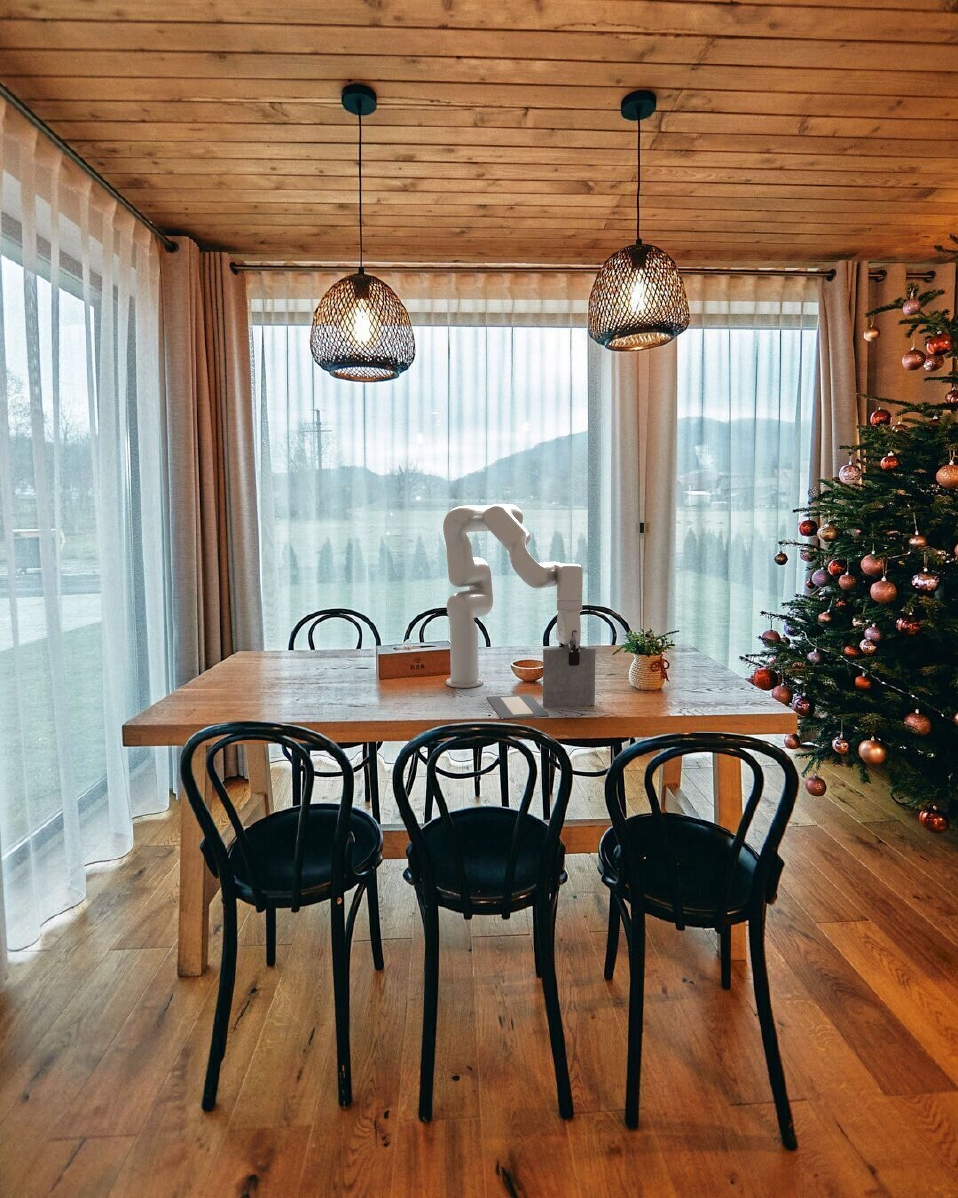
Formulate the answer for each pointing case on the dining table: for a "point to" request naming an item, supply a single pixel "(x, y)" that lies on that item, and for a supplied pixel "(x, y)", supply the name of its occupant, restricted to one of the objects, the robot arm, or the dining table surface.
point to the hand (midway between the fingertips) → (568, 661)
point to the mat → (516, 706)
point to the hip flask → (568, 677)
